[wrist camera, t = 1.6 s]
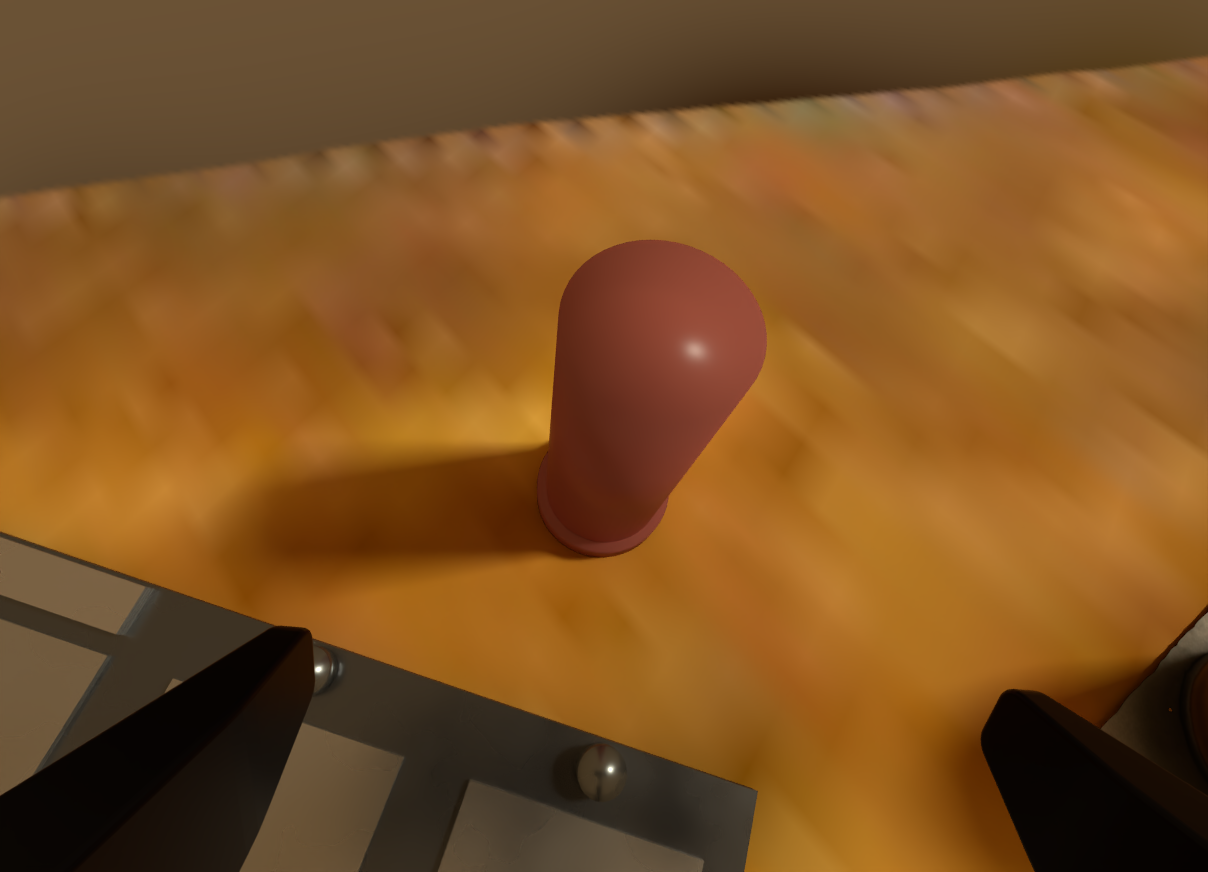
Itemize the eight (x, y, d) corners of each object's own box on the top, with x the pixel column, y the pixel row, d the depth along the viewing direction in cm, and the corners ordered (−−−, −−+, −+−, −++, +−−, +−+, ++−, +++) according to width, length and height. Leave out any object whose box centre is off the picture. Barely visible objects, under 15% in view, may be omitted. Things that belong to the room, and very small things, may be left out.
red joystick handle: (643, 574, 20) (756, 471, 10) (518, 532, 20) (505, 387, 10) (676, 457, 22) (799, 270, 12) (561, 419, 22) (586, 200, 12)
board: (670, 1249, 14) (683, 1307, 13) (-389, 875, 14) (-479, 895, 13) (750, 787, 18) (767, 796, 17) (-78, 505, 18) (-124, 491, 17)
